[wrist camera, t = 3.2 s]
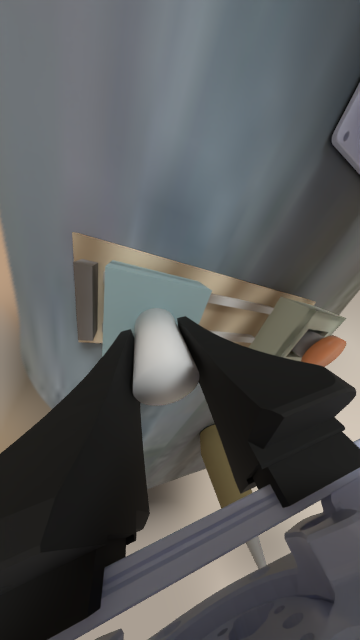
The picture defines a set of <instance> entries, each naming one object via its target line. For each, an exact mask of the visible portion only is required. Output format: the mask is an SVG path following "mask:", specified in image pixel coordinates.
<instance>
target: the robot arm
mask: <svg viewBox="0 0 360 640" xmlns="http://www.w3.org/2000/svg"><path fill="white" fill-rule="evenodd" d="M332 144H333V145H334V146H335V148H336V149H337V150H338V151H339V152H340V153H341V154H342V155H343V156H344V158H345V159H346V160H347V161H348V162H349V163H350V164H351V165H352V166H353V168H354V169H355V170H356V171H357V172H358V173H359V174H360V83H359V85H358V87H357V89H356V91H355V93H354V94H353V96H352V98H351V100H350V102H349V104H348V106H347V108H346V110H345V112H344V114H343V116H342V118H341V119H340V121H339V123H338V125H337V127H336V129H335V131H334V133H333V135H332ZM177 322H178V328H179V330H180V332H181V334H182V336H183V339H184V341H185V343H186V345H187V347H188V349H189V352H190V354H191V356H192V358H193V360H194V362H195V365H196V367H197V369H198V371H199V375H200V377H199V384H200V386H201V388H202V391H203V393H204V396H205V399H206V401H207V404H208V406H209V409H210V412H211V414H212V417H213V420H214V423H215V425H216V428H217V431H218V434H219V436H220V439H221V442H222V445H223V448H224V451H225V453H226V456H227V459H228V462H229V465H230V468H231V471H232V474H233V477H234V479H235V482H236V484H237V487H238V489H239V492H240V494H242V493H244V492H246V491H248V490H250V489H251V488H254V487H256V486H257V488H258V490H257V491H255V492H253V493H251V494H249V495H247V496H245V497H243V498H241V499H239V500H237V501H235V502H234V503H232V504H230V505H228V506H226V507H224V508H222V509H220V510H218V511H216V512H214V513H212V514H210V515H208V516H206V517H204V518H202V519H200V520H198V521H196V522H194V523H192V524H190V525H188V526H186V527H184V528H182V529H180V530H178V531H176V532H174V533H172V534H170V535H168V536H166V537H164V538H162V539H160V540H158V541H156V542H154V543H152V544H151V545H148V546H146V547H144V548H143V549H141V550H138V551H136V552H135V553H133V554H131V555H129V556H127V557H125V554H126V545H128V544H130V543H132V542H134V541H136V532H138V531H140V530H142V529H143V528H144V526H145V524H146V522H147V519H148V516H149V514H150V512H149V504H148V494H147V485H146V475H145V465H144V454H143V442H142V429H141V414H140V402H139V401H138V400H137V399H136V398H135V397H134V395H133V366H134V336H133V333H132V330H131V329H129V330H125V331H121V332H120V334H119V335H118V336H117V338H116V339H115V341H114V342H113V343H112V345H111V346H110V348H109V349H108V350H107V352H106V353H105V354H104V356H103V357H102V358H101V359H100V360H99V362H98V363H97V364H96V365H95V366H94V368H93V369H92V370H91V371H90V372H89V374H88V375H87V376H86V377H85V378H84V379H83V380H82V381H81V382H80V383H79V384H78V385H77V386H76V387H75V388H74V389H73V390H72V391H71V392H70V393H69V394H68V395H67V396H66V397H65V398H64V399H63V400H62V401H61V402H60V403H59V404H57V405H56V406H55V407H54V408H53V409H52V410H51V411H50V412H49V413H48V414H47V415H46V416H45V417H43V418H42V419H41V420H40V421H39V422H38V423H37V424H35V425H34V426H33V427H32V428H31V429H30V430H28V431H27V432H26V433H25V434H24V435H23V436H21V437H20V438H19V439H18V440H17V441H15V442H14V443H13V444H12V445H10V446H9V447H8V448H7V449H6V450H4V451H3V452H2V453H1V454H0V640H75V639H77V638H78V637H80V636H82V635H84V634H85V633H87V632H89V631H91V630H92V629H94V628H96V627H98V626H99V625H101V624H103V623H105V622H106V621H108V620H110V619H112V618H114V617H115V616H117V615H119V614H121V613H122V612H124V611H126V610H128V609H129V608H131V607H133V606H135V605H136V604H138V603H140V602H142V601H144V600H145V599H147V598H149V597H151V596H152V595H154V594H156V593H158V592H159V591H161V590H163V589H165V588H166V587H168V586H170V585H172V584H173V583H175V582H177V581H179V580H181V579H182V578H184V577H186V576H188V575H189V574H191V573H193V572H195V571H196V570H198V569H200V568H202V567H203V566H205V565H207V564H209V563H210V562H212V561H214V560H216V559H218V558H219V557H221V556H223V555H225V554H226V553H228V552H230V551H232V550H233V549H235V548H237V547H239V546H240V545H242V544H244V543H246V542H247V541H249V540H251V539H253V538H255V537H256V536H258V535H260V534H262V533H263V532H265V531H267V530H269V529H270V528H272V527H274V526H276V525H277V524H279V523H281V522H283V521H284V520H286V519H288V518H290V517H291V516H293V515H295V514H297V513H298V512H300V511H302V510H304V509H306V508H307V507H309V506H311V505H313V504H314V503H316V502H318V501H320V500H321V503H322V507H323V513H320V514H316V515H313V516H310V517H308V518H306V519H303V520H302V521H300V522H299V523H297V524H296V525H295V526H293V527H292V528H291V529H290V530H288V532H286V533H285V540H286V542H287V544H288V546H289V548H290V550H291V552H292V553H290V554H288V555H286V556H284V557H282V558H280V559H278V560H276V561H274V562H273V563H270V564H268V565H266V566H264V567H262V568H260V569H258V570H256V571H255V572H253V573H251V574H249V575H247V576H245V577H243V578H241V579H239V580H237V581H235V582H234V583H232V584H230V585H228V586H227V587H225V588H223V589H222V590H220V591H218V592H216V593H215V594H213V595H212V596H210V597H208V598H207V599H205V600H204V601H202V602H201V603H199V604H198V605H196V606H195V607H193V608H192V609H190V610H189V611H187V612H186V613H185V614H183V615H182V616H180V617H179V618H177V619H176V620H175V621H173V622H172V623H170V624H169V625H168V626H166V627H165V628H163V629H162V630H160V631H159V632H158V633H156V634H155V635H154V636H152V637H151V638H149V639H148V640H360V439H358V440H356V441H354V442H352V441H351V440H350V439H349V438H348V437H347V436H346V435H345V434H344V433H343V432H342V431H344V430H345V427H344V426H343V425H342V424H341V423H340V422H339V421H338V420H337V419H336V418H335V416H336V415H337V414H338V413H339V412H340V411H341V410H342V409H343V408H344V407H346V405H348V404H349V403H350V402H351V401H352V400H353V398H354V397H355V396H356V390H355V388H354V387H352V386H351V385H349V384H348V383H347V382H345V381H344V380H342V379H341V378H339V377H338V376H336V375H335V374H334V373H332V372H331V371H329V370H328V369H326V368H325V367H323V366H320V365H316V364H311V363H306V362H301V361H296V360H291V359H287V358H283V357H279V356H275V355H271V354H267V353H264V352H261V351H257V350H254V349H251V348H248V347H245V346H242V345H239V344H237V343H234V342H232V341H229V340H227V339H225V338H223V337H220V336H218V335H216V334H214V333H212V332H211V331H209V330H207V329H205V328H203V327H202V326H200V325H199V324H197V323H195V322H194V321H192V320H191V319H189V318H188V317H186V316H184V317H179V318H177ZM123 636H124V633H123V631H122V629H118V630H116V631H114V632H111V633H108V634H106V635H103V636H101V637H99V638H97V639H95V640H123Z"/></svg>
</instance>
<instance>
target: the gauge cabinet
mask: <svg viewBox="0 0 360 640" xmlns="http://www.w3.org/2000/svg"><path fill="white" fill-rule="evenodd" d="M345 319H346V318H344V317H342V316H339V315H336V314H334V313H331V312H328V311H326V310H323V309H320V308H318V307H315V306H313V305H310V304H306V303H303V302H299V301H295V300H291V299H288V298H284V297H280V299H279V300H278V302H277V303H276V305H275V307H274V310H273V311H272V313H271V314H269V316H268V318H267V319H266V321H265V322H264V324H263V326H262V327H261V329H260V330H259V332H258V333H257V335H256V337H255V339H254V341H253V343H251V344H250V346H249V348H251V349H254V350H257V351H261V352H264V353H267V354H271V355H275V356H279V357H283V358H287V359H291V360H296V361H301V359H302V358H301V357H300V356H298V355H297V354H295V353H294V352H293V351H291V350H292V349H293V348H294V346H295V345H296V344H297V343H298V342H299V340H300V339H301V338H302V337H303V335H304V334H305V333H306V332H307V331H308V329H310V330H311V331H313V332H315V333H317V334H319V335H321V336H323V337H327V336H331V335H332V333H333V332H334V331H335V330H336V329H337V328H338V327H339V326H340V325H341V324H342V322H343V321H344V320H345Z"/></svg>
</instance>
